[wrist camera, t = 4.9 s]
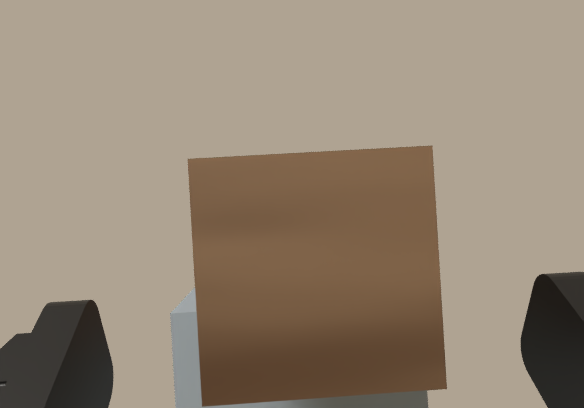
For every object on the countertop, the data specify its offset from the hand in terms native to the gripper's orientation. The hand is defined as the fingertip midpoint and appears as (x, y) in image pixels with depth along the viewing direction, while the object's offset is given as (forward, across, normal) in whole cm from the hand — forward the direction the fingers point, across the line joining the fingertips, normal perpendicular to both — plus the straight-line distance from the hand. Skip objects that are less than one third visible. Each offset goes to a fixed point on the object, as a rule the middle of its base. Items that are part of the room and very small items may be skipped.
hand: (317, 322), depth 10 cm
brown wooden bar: (+7, 0, +5) cm, 9 cm away
